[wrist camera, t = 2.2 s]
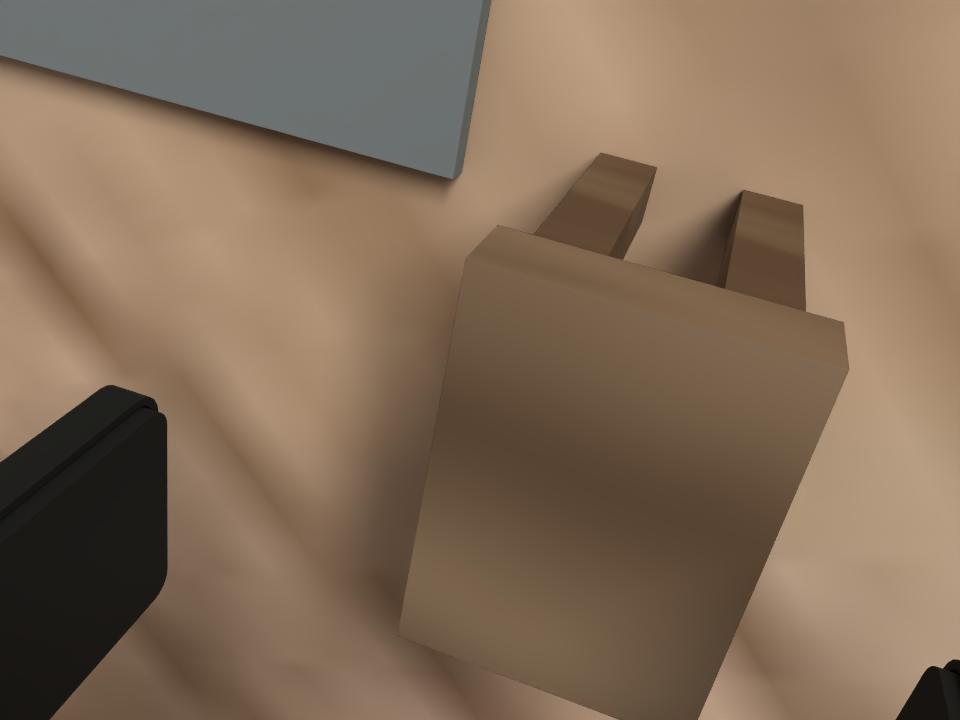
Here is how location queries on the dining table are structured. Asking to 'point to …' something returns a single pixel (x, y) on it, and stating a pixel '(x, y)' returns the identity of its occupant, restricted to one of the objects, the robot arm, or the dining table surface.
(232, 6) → the slate mat
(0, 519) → the robot arm
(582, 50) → the dining table surface
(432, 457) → the walnut stool
